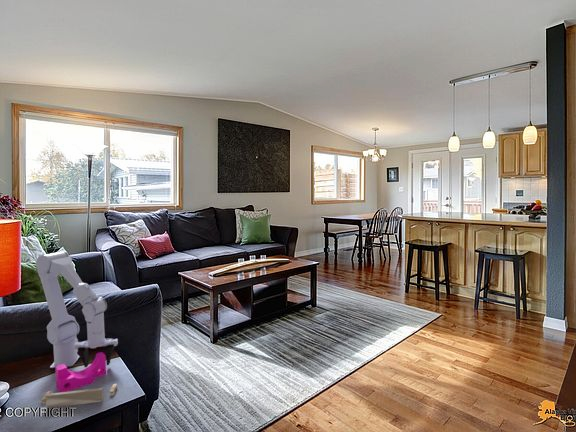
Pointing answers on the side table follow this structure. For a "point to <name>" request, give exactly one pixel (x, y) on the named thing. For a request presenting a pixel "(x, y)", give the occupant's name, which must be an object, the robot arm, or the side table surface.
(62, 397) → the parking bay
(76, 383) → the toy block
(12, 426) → the side table surface
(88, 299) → the robot arm
